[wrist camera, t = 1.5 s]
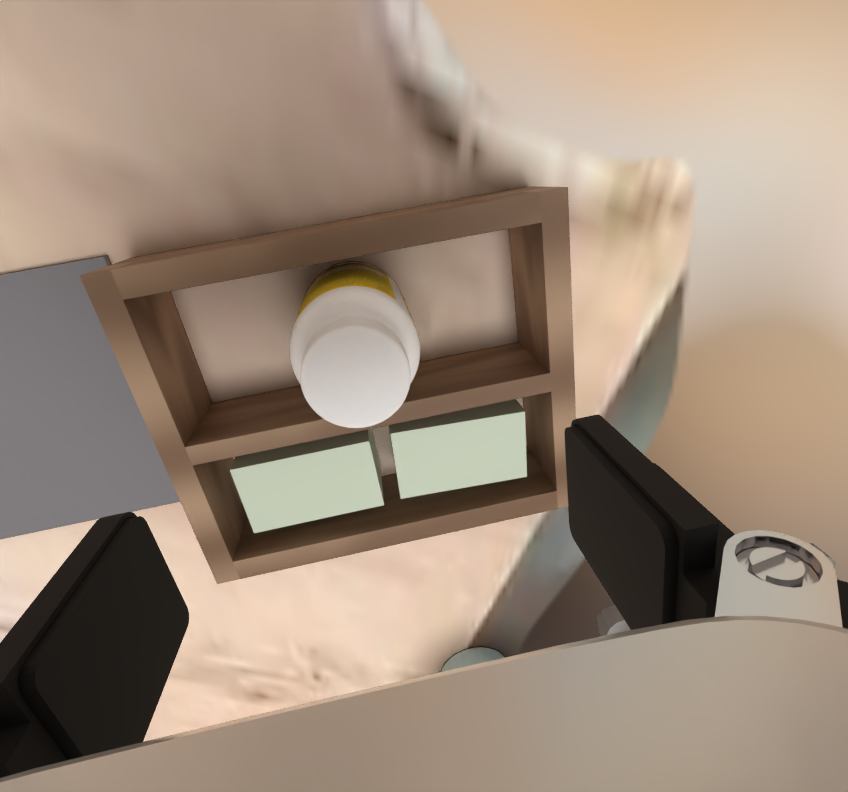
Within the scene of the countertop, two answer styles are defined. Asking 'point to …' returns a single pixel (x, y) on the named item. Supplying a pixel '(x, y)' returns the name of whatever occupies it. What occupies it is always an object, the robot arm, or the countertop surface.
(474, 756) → the robot arm
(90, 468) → the mat
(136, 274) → the rack
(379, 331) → the supplement bottle
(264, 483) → the offcut
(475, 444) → the offcut
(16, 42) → the countertop surface
